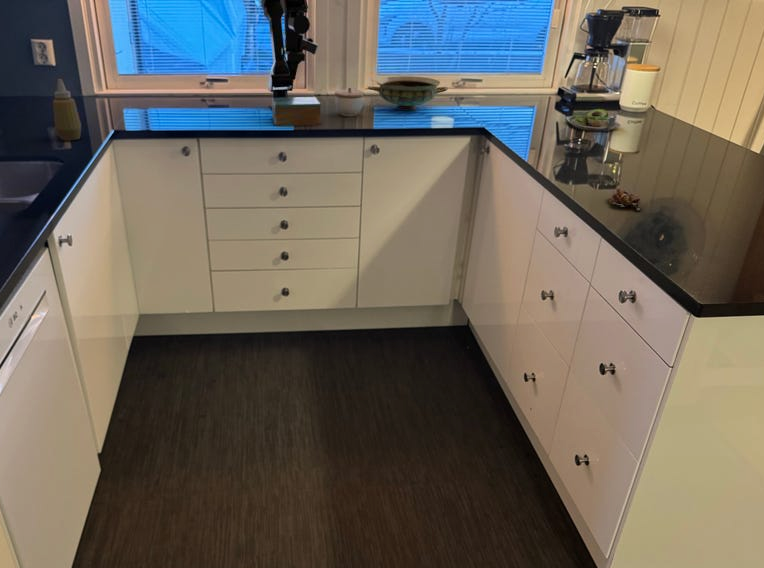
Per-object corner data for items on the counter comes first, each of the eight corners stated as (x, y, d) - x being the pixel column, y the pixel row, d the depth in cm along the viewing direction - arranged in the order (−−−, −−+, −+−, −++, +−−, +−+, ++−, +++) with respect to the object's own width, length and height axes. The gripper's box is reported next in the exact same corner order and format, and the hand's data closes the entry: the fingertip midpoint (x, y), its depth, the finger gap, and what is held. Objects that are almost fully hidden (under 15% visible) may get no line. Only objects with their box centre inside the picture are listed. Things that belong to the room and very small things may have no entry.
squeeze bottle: (59, 143, 216) (48, 82, 207) (55, 137, 223) (44, 78, 213) (85, 140, 220) (75, 80, 210) (80, 134, 226) (70, 76, 216)
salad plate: (631, 133, 233) (635, 119, 231) (579, 133, 232) (582, 119, 230) (609, 120, 249) (612, 107, 247) (560, 120, 249) (563, 107, 246)
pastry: (635, 196, 176) (639, 182, 174) (640, 212, 166) (644, 197, 164) (606, 194, 177) (609, 180, 175) (609, 209, 168) (613, 194, 166)
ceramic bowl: (443, 103, 274) (446, 76, 269) (447, 116, 254) (450, 87, 248) (368, 101, 276) (369, 74, 271) (366, 114, 256) (367, 85, 251)
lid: (320, 106, 237) (320, 103, 236) (275, 107, 235) (275, 104, 234) (315, 99, 247) (315, 96, 247) (271, 100, 245) (271, 97, 245)
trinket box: (364, 111, 259) (365, 85, 254) (362, 118, 250) (363, 90, 245) (335, 110, 260) (336, 84, 255) (333, 117, 251) (334, 90, 246)
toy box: (320, 124, 241) (320, 106, 237) (275, 126, 239) (275, 107, 235) (315, 117, 251) (315, 99, 247) (272, 118, 249) (271, 100, 245)
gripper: (320, 34, 228) (320, 84, 236) (312, 27, 244) (312, 74, 252) (287, 34, 226) (287, 84, 235) (281, 28, 242) (281, 75, 250)
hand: (293, 79), depth 243 cm, fingers closed
